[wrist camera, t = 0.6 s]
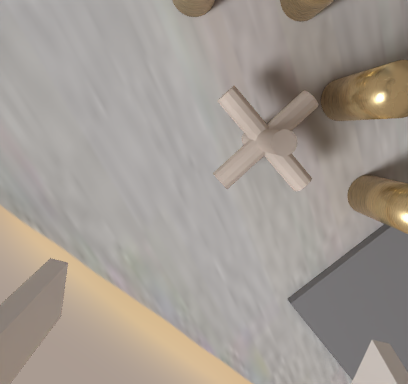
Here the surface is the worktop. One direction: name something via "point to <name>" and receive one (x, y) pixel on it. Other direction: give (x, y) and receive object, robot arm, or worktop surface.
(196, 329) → the worktop surface
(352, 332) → the rubber mat
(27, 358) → the robot arm
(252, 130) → the pipe connector
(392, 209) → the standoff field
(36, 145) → the worktop surface
